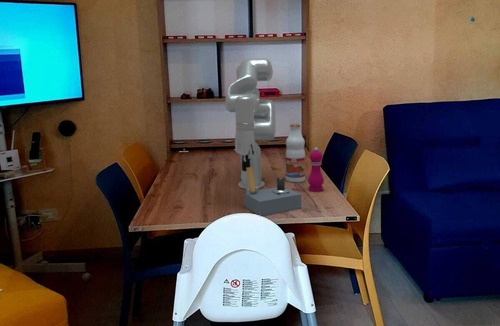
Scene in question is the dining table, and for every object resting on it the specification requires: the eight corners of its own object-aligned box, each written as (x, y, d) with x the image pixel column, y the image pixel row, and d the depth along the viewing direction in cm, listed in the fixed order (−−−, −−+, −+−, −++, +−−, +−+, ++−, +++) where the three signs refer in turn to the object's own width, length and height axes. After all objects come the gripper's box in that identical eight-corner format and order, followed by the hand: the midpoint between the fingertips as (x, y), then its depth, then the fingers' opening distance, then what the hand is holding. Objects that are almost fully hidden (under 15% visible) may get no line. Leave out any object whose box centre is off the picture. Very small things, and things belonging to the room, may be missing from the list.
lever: (251, 193, 198) (249, 193, 199) (255, 192, 198) (254, 192, 200) (247, 167, 197) (246, 167, 199) (252, 166, 198) (250, 167, 200)
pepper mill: (322, 187, 226) (322, 145, 222) (325, 191, 219) (325, 148, 215) (306, 187, 226) (306, 146, 222) (309, 192, 219) (309, 149, 215)
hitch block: (244, 206, 202) (243, 187, 200) (283, 199, 210) (283, 181, 208) (260, 216, 190) (259, 196, 188) (301, 208, 198) (301, 188, 196)
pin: (270, 204, 203) (270, 177, 200) (283, 202, 206) (283, 175, 203) (278, 209, 198) (277, 180, 195) (291, 206, 200) (291, 178, 198)
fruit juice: (307, 178, 242) (307, 123, 236) (302, 183, 234) (302, 126, 227) (288, 177, 246) (288, 122, 239) (283, 182, 237) (283, 125, 231)
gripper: (229, 125, 202) (230, 168, 206) (244, 129, 189) (246, 175, 193) (245, 123, 205) (246, 165, 209) (261, 128, 192) (262, 173, 196)
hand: (246, 170), depth 201 cm, fingers closed
